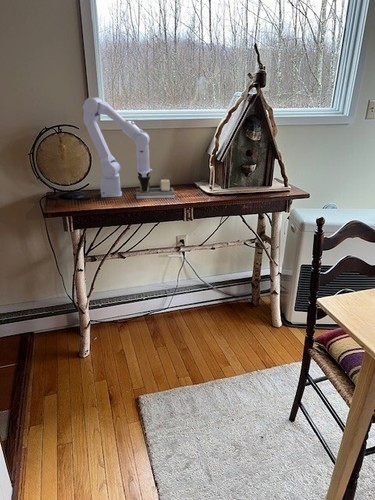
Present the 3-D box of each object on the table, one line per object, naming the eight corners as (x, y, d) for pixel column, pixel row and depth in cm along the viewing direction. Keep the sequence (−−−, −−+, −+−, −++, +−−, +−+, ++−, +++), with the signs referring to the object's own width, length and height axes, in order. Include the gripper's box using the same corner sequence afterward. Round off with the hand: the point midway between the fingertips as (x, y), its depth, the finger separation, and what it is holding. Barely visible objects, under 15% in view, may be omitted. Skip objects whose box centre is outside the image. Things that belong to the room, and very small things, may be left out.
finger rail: (136, 198, 169) (135, 183, 166) (136, 193, 177) (135, 179, 174) (174, 197, 171) (174, 182, 168) (172, 192, 180) (172, 178, 177)
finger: (140, 194, 171) (140, 182, 169) (140, 192, 175) (139, 180, 172) (149, 194, 172) (149, 181, 169) (149, 192, 175) (149, 179, 173)
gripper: (152, 162, 161) (153, 192, 166) (151, 157, 174) (152, 184, 179) (136, 163, 160) (138, 193, 165) (136, 157, 173) (137, 185, 178)
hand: (144, 188), depth 172 cm, fingers open, 7 cm apart
